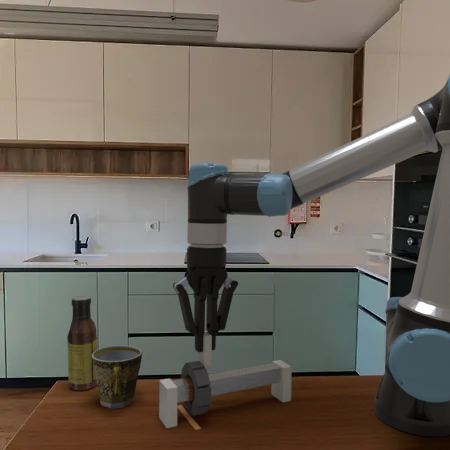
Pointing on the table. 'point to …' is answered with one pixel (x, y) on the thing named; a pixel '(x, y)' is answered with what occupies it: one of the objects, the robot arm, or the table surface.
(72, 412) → the table surface
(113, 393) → the ceramic cup
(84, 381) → the sauce bottle
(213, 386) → the light grey bar
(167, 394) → the stand
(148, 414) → the table surface
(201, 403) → the ring
